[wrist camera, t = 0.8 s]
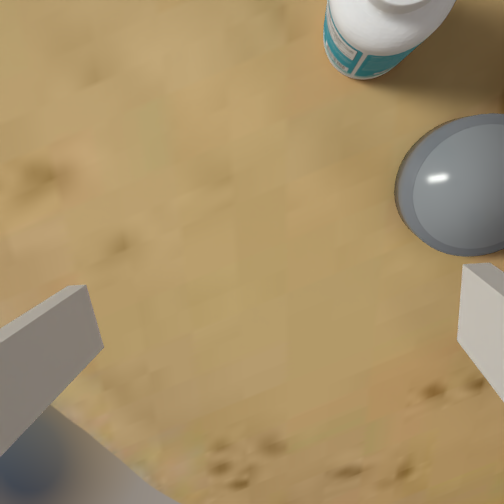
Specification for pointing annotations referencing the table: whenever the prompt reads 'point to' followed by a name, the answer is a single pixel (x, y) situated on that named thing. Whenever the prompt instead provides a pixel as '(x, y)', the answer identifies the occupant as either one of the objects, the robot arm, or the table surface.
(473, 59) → the table surface
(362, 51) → the pill bottle
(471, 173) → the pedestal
